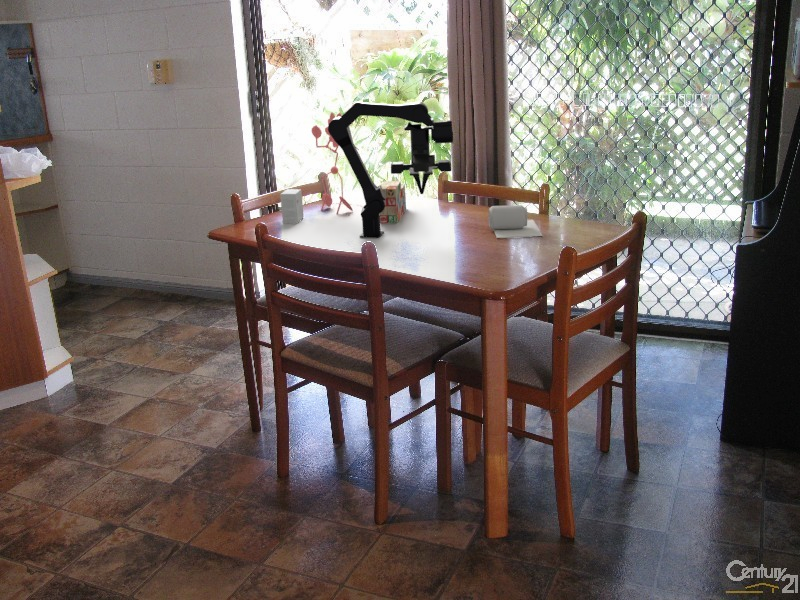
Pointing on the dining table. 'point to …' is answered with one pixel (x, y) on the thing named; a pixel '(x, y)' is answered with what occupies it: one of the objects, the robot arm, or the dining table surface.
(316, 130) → the figurine
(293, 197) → the small box
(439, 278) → the dining table surface
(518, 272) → the dining table surface
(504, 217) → the can
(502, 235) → the mat
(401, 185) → the stack of blocks
